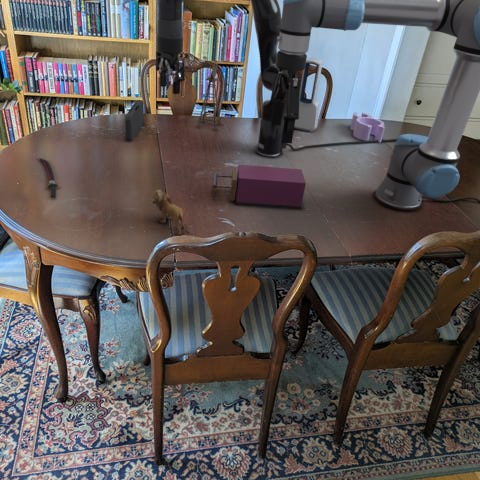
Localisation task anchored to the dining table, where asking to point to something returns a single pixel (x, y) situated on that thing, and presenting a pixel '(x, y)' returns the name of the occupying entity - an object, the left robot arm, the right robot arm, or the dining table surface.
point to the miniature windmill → (210, 79)
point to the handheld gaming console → (134, 120)
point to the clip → (366, 127)
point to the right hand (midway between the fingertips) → (280, 133)
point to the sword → (52, 181)
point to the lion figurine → (169, 209)
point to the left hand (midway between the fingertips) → (169, 90)
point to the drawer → (233, 186)
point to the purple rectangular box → (270, 186)
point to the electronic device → (309, 100)
